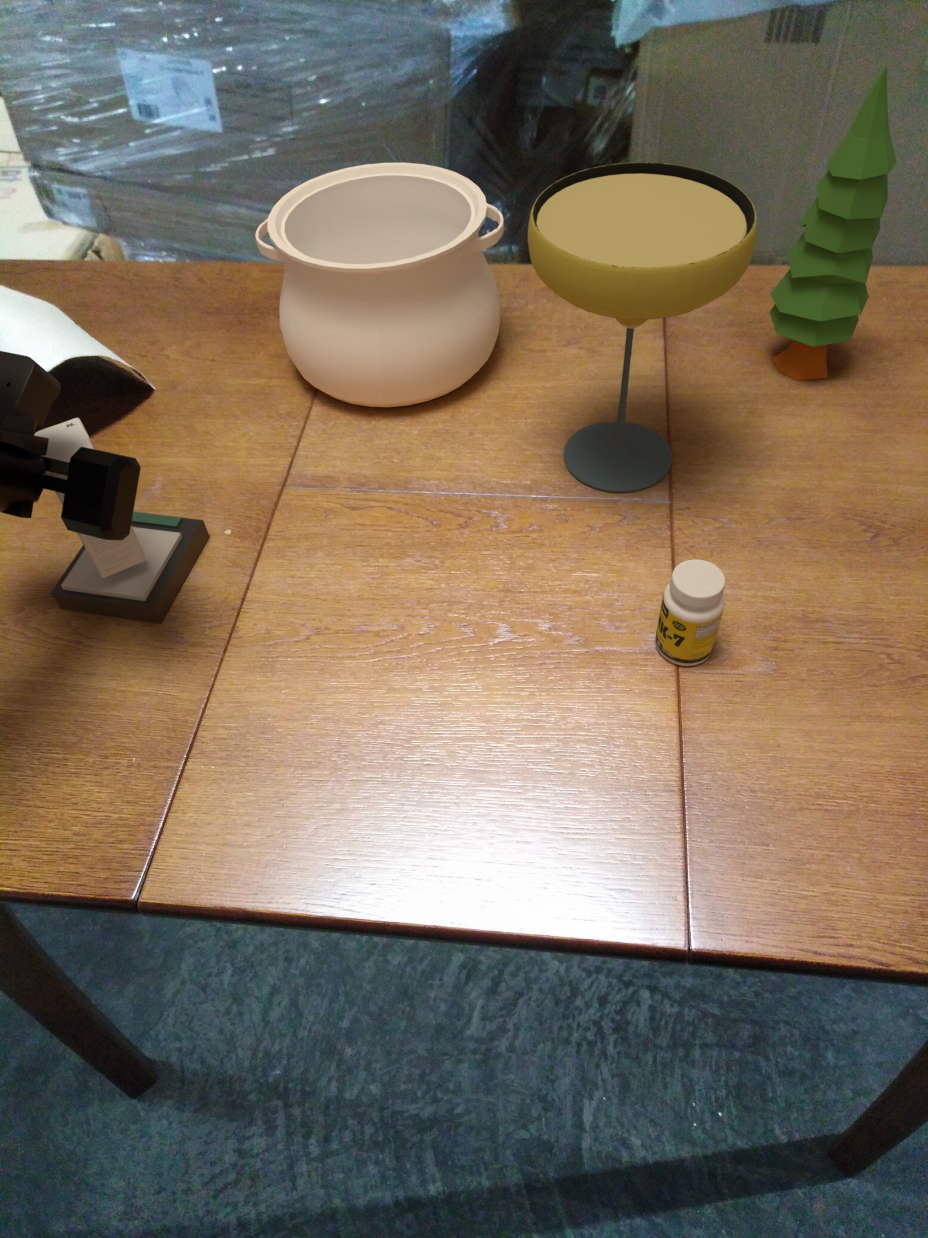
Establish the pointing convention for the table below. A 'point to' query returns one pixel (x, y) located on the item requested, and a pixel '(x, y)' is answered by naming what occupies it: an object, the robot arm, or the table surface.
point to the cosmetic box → (61, 447)
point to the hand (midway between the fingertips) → (97, 484)
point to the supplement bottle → (690, 612)
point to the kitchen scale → (137, 572)
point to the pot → (385, 281)
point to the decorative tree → (836, 244)
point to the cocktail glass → (637, 278)
